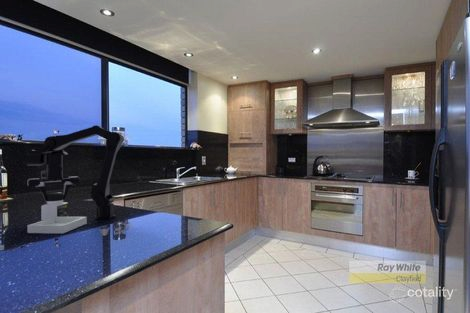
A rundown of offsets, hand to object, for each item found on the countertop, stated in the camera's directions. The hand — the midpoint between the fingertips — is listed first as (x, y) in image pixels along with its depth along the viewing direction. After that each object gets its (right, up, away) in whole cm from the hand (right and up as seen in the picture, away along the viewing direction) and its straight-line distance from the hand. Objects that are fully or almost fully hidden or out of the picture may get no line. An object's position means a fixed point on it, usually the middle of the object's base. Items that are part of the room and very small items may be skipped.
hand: (55, 200), depth 114 cm
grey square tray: (+10, -9, -13) cm, 18 cm away
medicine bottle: (0, -9, 0) cm, 9 cm away
